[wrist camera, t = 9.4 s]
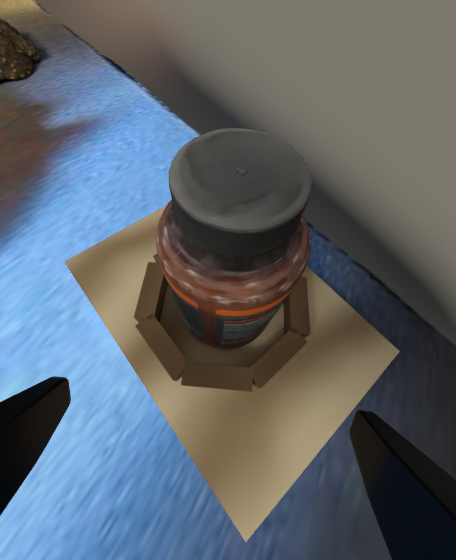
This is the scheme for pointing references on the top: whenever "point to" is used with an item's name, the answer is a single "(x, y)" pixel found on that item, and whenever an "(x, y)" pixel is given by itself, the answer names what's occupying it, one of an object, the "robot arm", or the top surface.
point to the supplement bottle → (234, 232)
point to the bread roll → (15, 54)
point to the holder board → (240, 421)
